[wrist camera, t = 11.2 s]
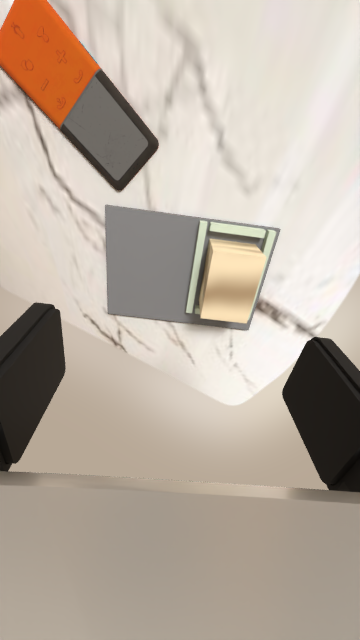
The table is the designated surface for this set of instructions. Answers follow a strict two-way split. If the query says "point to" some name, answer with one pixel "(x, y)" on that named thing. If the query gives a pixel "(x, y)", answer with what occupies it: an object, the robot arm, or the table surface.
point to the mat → (169, 262)
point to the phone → (74, 91)
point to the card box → (230, 280)
